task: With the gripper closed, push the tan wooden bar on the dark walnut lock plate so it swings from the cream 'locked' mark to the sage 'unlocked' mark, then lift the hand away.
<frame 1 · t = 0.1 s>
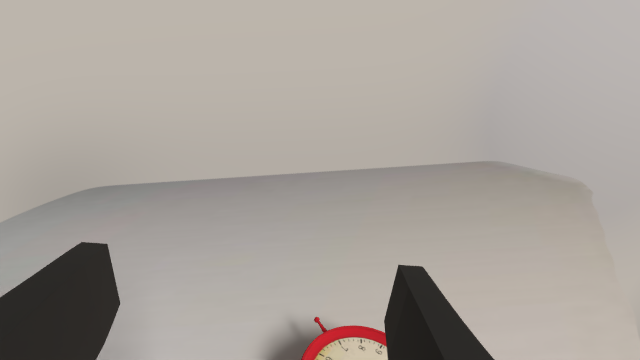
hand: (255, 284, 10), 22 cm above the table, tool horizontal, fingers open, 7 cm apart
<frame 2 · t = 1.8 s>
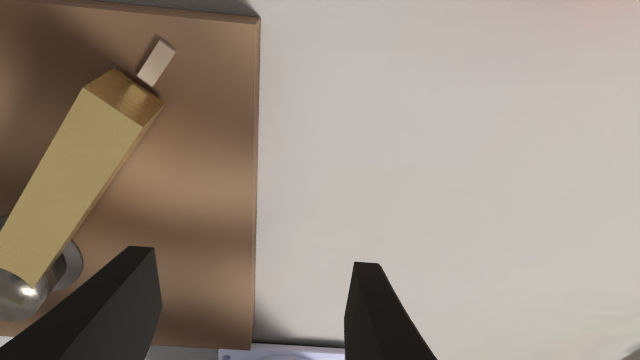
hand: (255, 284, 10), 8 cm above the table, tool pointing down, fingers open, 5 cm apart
tan wooden bar: (55, 210, 16), point 3 cm above the table, hinge at 0.0°
lock plate: (39, 190, 19), on the table
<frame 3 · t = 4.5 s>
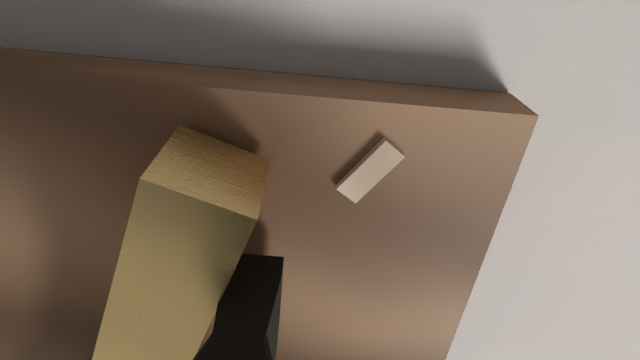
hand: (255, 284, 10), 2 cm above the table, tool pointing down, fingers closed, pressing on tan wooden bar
tan wooden bar: (145, 356, 10), point 3 cm above the table, hinge at 16.0°, touching gripper
lock plate: (139, 311, 14), on the table
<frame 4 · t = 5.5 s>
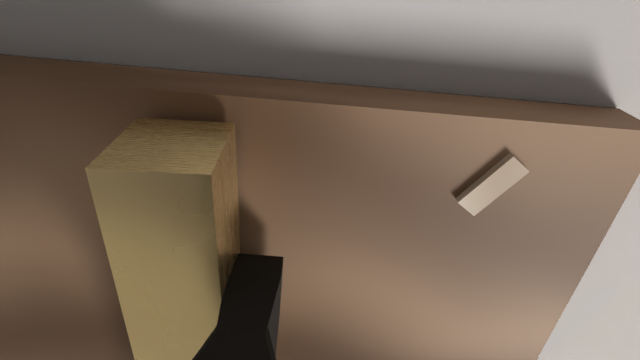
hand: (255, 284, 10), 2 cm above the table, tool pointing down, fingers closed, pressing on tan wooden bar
tan wooden bar: (198, 355, 11), point 3 cm above the table, hinge at 36.7°, touching gripper
lock plate: (227, 318, 14), on the table
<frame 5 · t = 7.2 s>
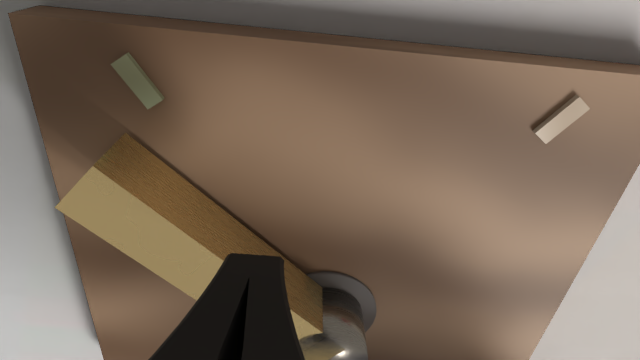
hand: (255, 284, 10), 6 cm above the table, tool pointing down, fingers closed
tan wooden bar: (241, 276, 15), point 3 cm above the table, hinge at 83.1°
lock plate: (330, 241, 18), on the table
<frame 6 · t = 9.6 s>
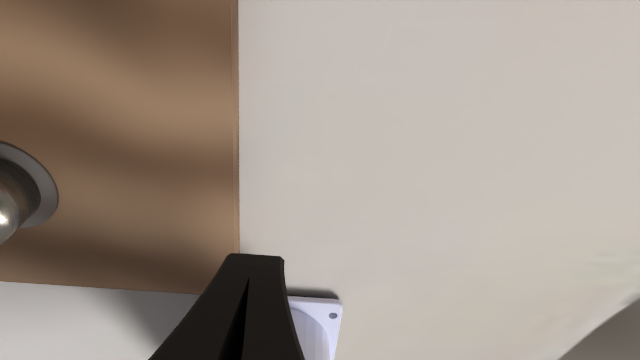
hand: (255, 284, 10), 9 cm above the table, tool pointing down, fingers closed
lock plate: (12, 119, 18), on the table
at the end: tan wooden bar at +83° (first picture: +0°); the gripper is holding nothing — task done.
